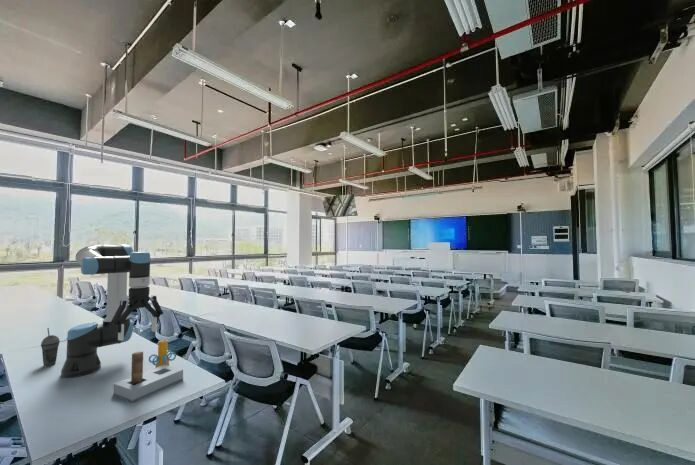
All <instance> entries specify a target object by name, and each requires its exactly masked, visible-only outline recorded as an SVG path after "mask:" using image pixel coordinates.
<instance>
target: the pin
mask: <svg viewBox="0 0 695 465" xmlns="http://www.w3.org/2000/svg"><path fill="white" fill-rule="evenodd" d="M143 370H144V351H137V352H133V353H132V354H131V371H130V372H131V376H130V377H131V385H136V384H139V383H141V382H142V380H143V372H144V371H143Z"/></svg>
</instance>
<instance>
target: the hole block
mask: <svg viewBox="0 0 695 465" xmlns="http://www.w3.org/2000/svg"><path fill="white" fill-rule="evenodd" d="M182 381H184V369H181V368H178V367H174V366H171V365H169V366H167V365H162V366H159V367H157V368H155V367H154V368H152V369H149V370H146V371H143V380H142V382H141V383H139V384H136V385H131V376H130V377H128V378H125V379H123V380H120V381H117V382H114V383H113V389H112V390H113V391H112V392H113V395H112V396H114V397H117V398H119V399H122V400H124V401H127V402H130V403H132V404H134V403H136V402H138V401H140V400H142V399H145V398H146V397H149V396H151V395H153V394H155V393H158V392H160V391H162V390H164V389H167V388H169V387H171V386H174V385H175V384H178V383H180V382H182Z"/></svg>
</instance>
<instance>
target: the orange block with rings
mask: <svg viewBox="0 0 695 465" xmlns="http://www.w3.org/2000/svg"><path fill="white" fill-rule="evenodd" d="M157 344H158V345H157V347H158V348H157V354H156V353H155V354H151V355H150V356H149V357H148V362H149V363H150V364H152V365H153V366H155V367H154V368H157V367H159V366H162V365H167V366H170V362H172V361H175V359H176V358H177V354H176V352H173V351H172V350H168V339H161V340H158V343H157ZM172 356H173V358H172ZM152 357H153V358H152ZM151 358H152V360H151Z"/></svg>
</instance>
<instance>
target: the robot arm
mask: <svg viewBox="0 0 695 465" xmlns="http://www.w3.org/2000/svg"><path fill="white" fill-rule="evenodd" d="M75 261H76V263H77V264H78V265H80V273H81V274H82V275H85V276H87V275H89V276H90V275H91V276H94V275H102V274H103V275H106V274H107V284H106V285H107V286H106V290H107V291H106V293H107V294H106V317H104V319H103V320H102V323H101V324H99V323H98V322H96V321H93V322H86V323H83V324H78V325H76V326H75V325H74V326H73V327H71V328H70V329H68V330H67V335H66V359H65V361H64V363H63V365H62V368H61V371H60V377H61V378H77V377H81V376H86V375H88V374H92V373H95V372H97V371H99V370H100V369H101V367H102V366H101V365H102V362H101V360H100V357H99V355H98V348H102V347H106V346H107V347H108V346H111V345H118V344H122V343H126V342H128V341H129V340H131V338H132V335H133V332H134V321H133V319H132V318H131V317H130V314H131V313H132V312H134V310H137V309H143V308H145V309H146V310H147V311H148V312H149V313H150V314H151V315H152V317H151V332H153V333H157V330H158V324H159V320H160V319H159V318H160V316H161V315H163V314H164V312H163V309H162V308H161V305H160V303H159V302H158V299H157V295H151V296H150V291H151V290H150V289H151V288H150V284H151V283H150V282H151V278H150V277H151V253H150V252H148V251H134V249H133V247H132V246H131V245H129V244H92V245H89V246H85V247H83V248H81V249H79V250H78V251H77V253H76V254H75ZM128 273H129V274H128ZM128 287H129V288H128ZM127 295H128V296H127ZM127 297H128V298H127ZM127 299H128V300H127ZM149 302H150V303H151V304H152V306H153V307H152V306H151V304H150V303H149ZM127 305H128V306H127ZM130 318H131V319H130Z"/></svg>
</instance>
